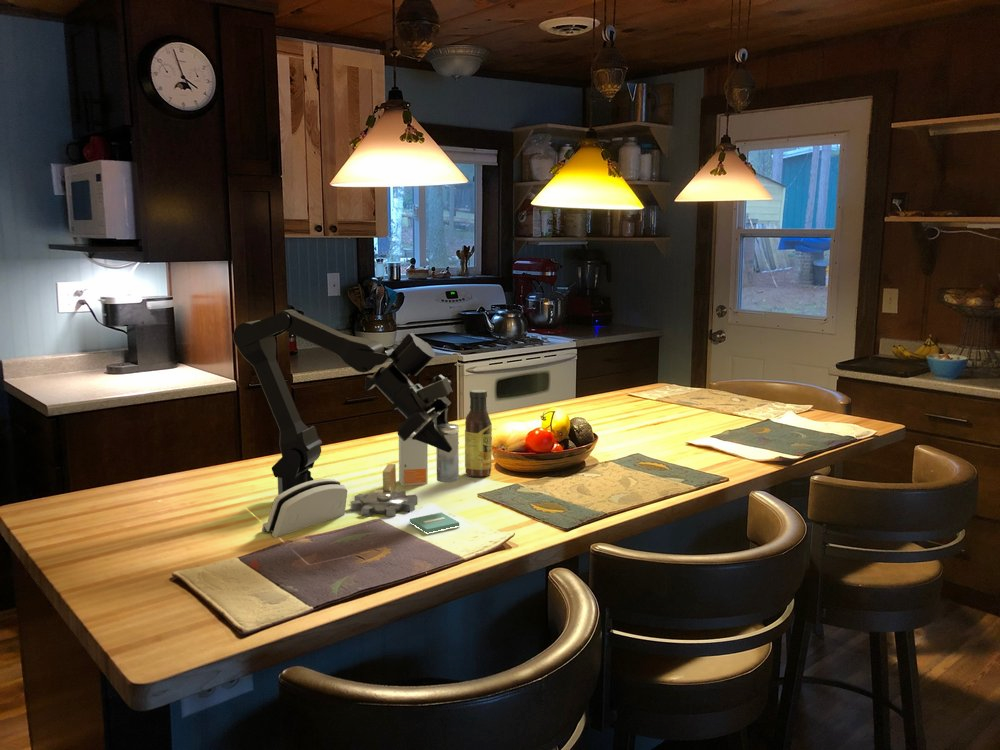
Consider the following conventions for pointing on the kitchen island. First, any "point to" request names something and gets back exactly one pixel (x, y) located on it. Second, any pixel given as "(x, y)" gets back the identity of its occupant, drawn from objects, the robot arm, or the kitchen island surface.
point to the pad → (434, 522)
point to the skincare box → (413, 461)
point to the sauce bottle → (478, 436)
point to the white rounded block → (306, 506)
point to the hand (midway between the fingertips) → (454, 447)
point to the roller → (448, 455)
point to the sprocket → (385, 498)
